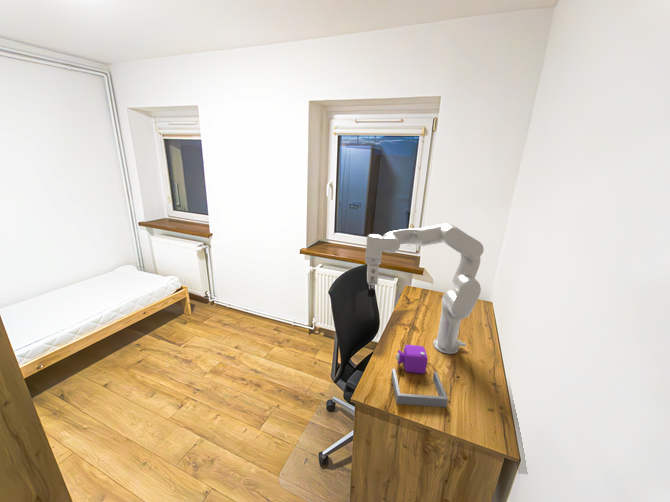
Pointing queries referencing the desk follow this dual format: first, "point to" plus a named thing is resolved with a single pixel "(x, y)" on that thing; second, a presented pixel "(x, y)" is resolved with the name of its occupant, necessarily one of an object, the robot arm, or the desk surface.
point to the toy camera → (413, 359)
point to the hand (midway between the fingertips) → (370, 292)
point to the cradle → (421, 399)
